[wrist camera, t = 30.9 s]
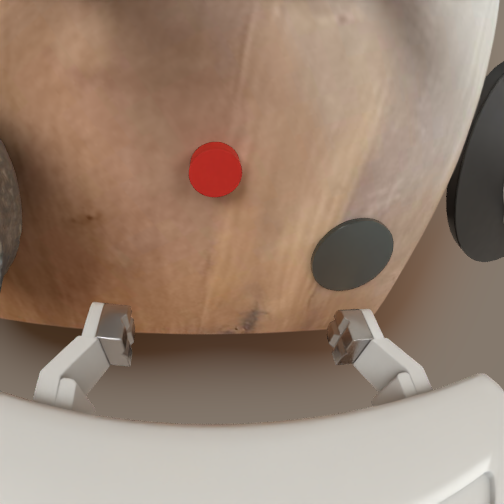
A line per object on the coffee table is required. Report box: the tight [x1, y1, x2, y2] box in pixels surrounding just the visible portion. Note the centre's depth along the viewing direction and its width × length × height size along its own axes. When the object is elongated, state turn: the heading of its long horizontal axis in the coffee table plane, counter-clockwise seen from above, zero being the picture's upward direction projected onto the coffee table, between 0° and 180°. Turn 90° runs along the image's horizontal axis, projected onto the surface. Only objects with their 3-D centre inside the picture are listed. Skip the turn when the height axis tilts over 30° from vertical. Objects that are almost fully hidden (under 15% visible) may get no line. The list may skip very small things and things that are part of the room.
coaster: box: [311, 218, 393, 291], centre depth 32 cm, size 10×10×1 cm
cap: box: [189, 142, 242, 197], centre depth 23 cm, size 4×4×2 cm
